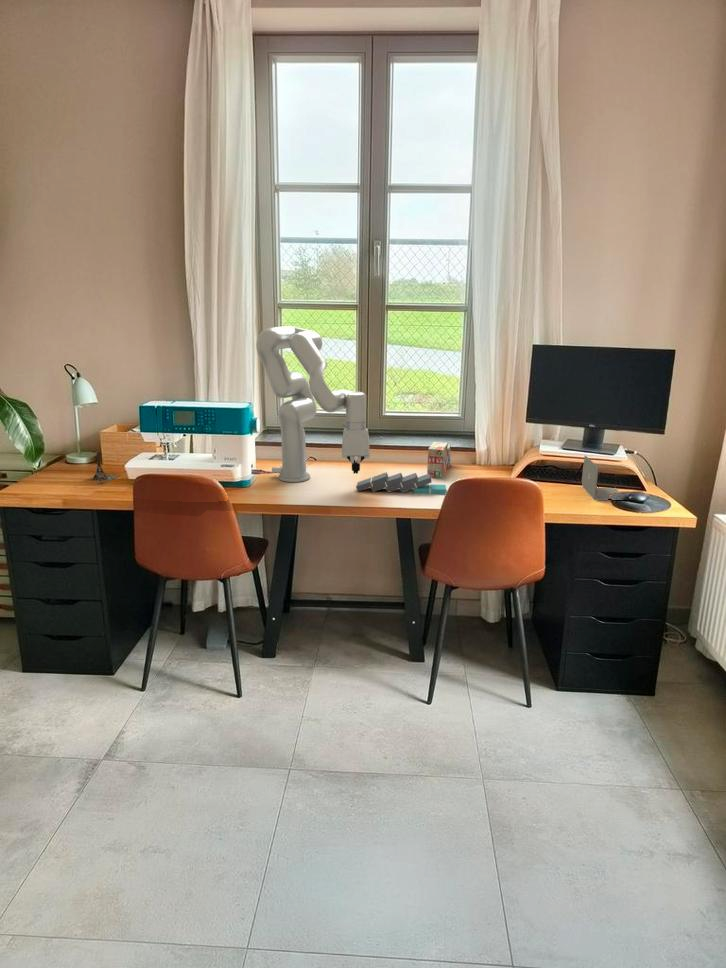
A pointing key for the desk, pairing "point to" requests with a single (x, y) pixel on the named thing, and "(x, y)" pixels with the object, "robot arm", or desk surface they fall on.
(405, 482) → the domino
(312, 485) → the desk surface
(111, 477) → the eiffel tower figurine
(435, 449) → the stack of blocks
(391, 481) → the domino
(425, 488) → the teal domino
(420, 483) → the domino
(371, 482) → the domino
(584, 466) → the laptop
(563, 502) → the desk surface
